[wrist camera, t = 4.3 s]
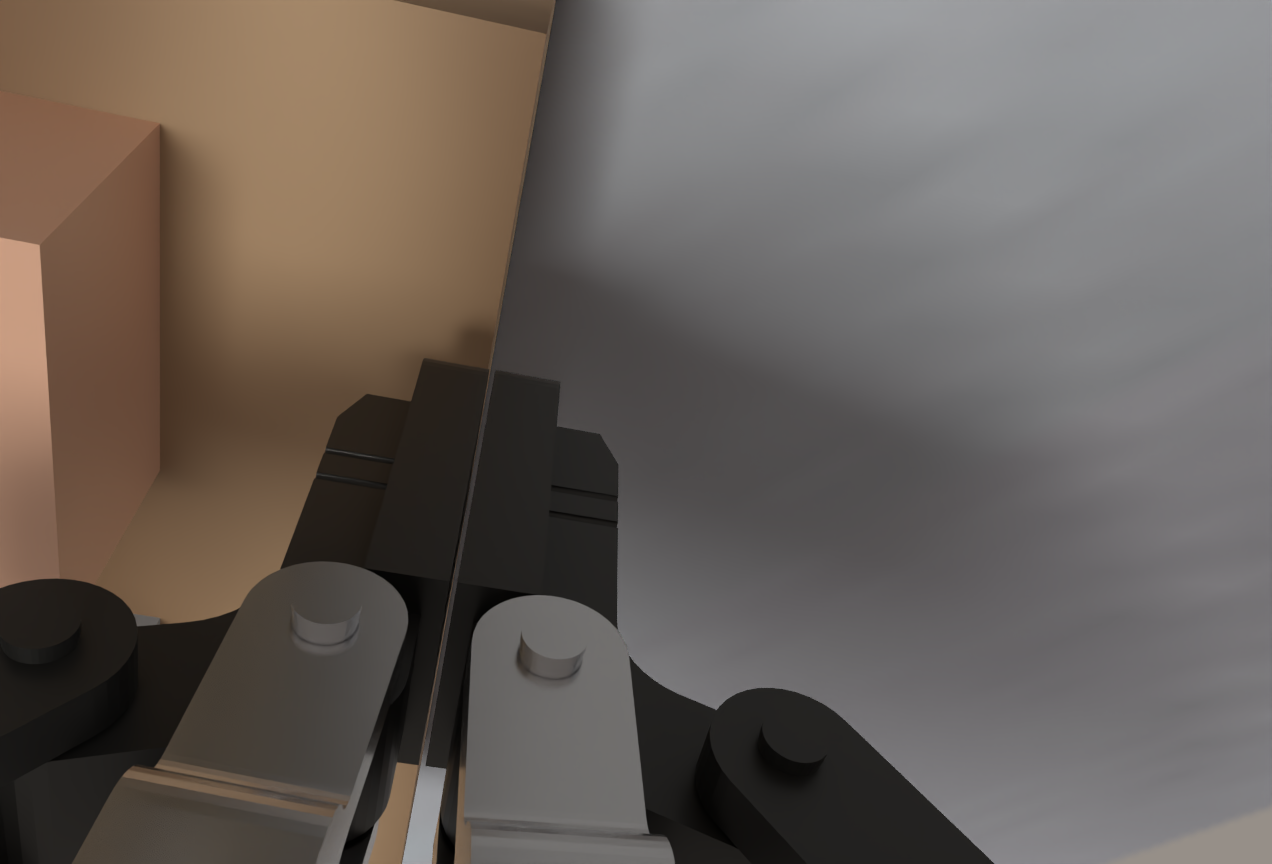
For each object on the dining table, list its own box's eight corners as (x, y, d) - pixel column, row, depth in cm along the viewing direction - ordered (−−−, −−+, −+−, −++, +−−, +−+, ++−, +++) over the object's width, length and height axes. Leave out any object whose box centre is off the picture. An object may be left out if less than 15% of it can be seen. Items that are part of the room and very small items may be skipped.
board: (565, -52, 15) (547, 33, 12) (424, 742, 23) (390, 926, 20) (-274, -246, 14) (-559, -210, 11) (-115, 664, 22) (-249, 846, 19)
